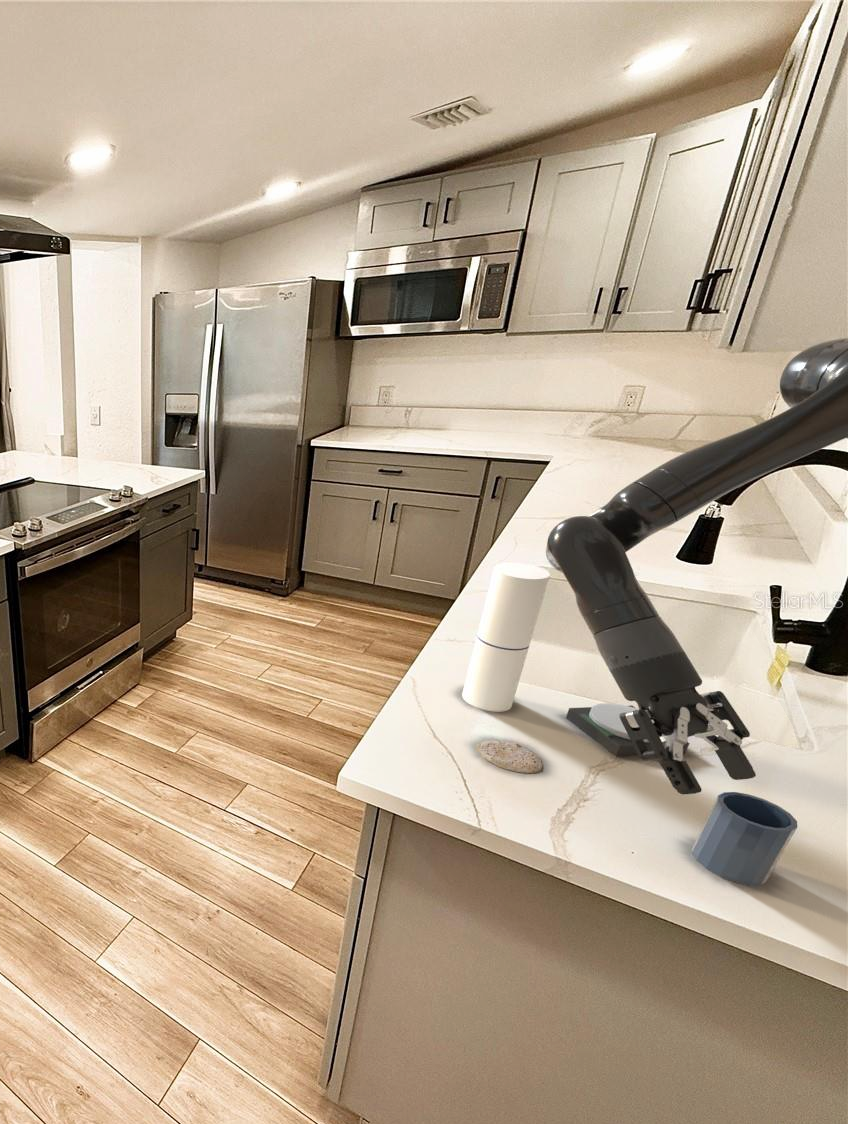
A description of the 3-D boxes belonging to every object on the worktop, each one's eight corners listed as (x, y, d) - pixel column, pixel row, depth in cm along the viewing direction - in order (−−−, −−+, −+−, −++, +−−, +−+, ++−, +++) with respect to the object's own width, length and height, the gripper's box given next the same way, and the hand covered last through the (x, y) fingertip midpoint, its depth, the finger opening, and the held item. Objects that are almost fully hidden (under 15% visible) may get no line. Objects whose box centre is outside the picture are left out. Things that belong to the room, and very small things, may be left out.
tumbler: (727, 847, 76) (756, 790, 73) (780, 888, 71) (815, 830, 67) (675, 848, 77) (702, 792, 73) (724, 890, 71) (756, 831, 67)
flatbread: (539, 752, 94) (541, 747, 94) (543, 782, 88) (545, 776, 88) (476, 737, 98) (477, 732, 98) (476, 764, 93) (477, 759, 92)
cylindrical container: (455, 703, 107) (488, 571, 97) (469, 687, 111) (501, 559, 101) (503, 719, 102) (543, 582, 92) (516, 702, 106) (555, 569, 96)
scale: (626, 718, 101) (634, 700, 99) (683, 757, 91) (692, 737, 90) (564, 721, 101) (570, 702, 100) (614, 760, 92) (622, 740, 90)
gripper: (630, 659, 74) (708, 796, 68) (718, 640, 77) (801, 770, 71) (573, 675, 81) (640, 801, 75) (656, 657, 84) (727, 777, 78)
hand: (718, 786), depth 73 cm, fingers open, 8 cm apart
